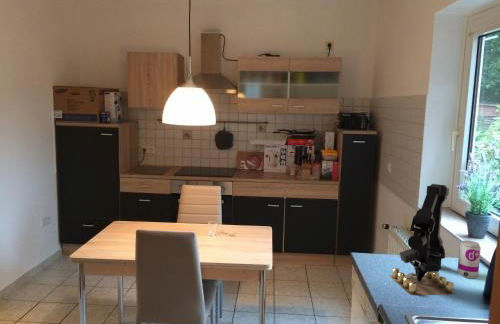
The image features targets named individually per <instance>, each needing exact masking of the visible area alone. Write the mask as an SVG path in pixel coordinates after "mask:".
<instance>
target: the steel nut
mask: <svg viewBox="0 0 500 324" xmlns="http://www.w3.org/2000/svg"><path fill="white" fill-rule="evenodd" d="M406 275H407V277H409V278H410V281H412V282H420V281H418V280H417V276H416V272H409V273H407V274H406ZM421 281H422V280H421Z"/></svg>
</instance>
